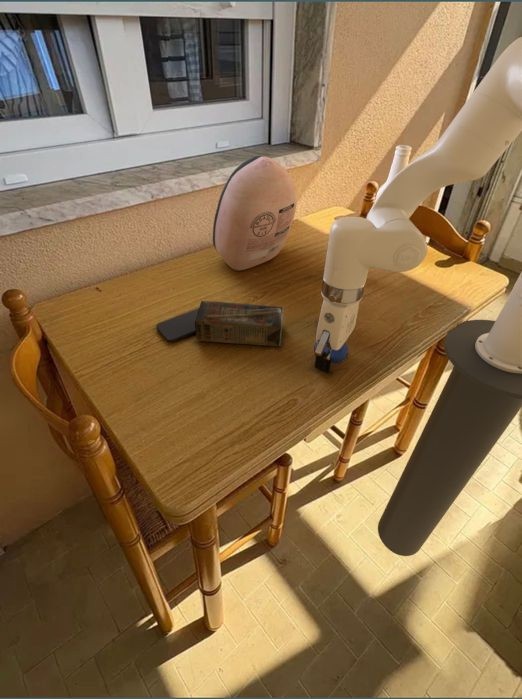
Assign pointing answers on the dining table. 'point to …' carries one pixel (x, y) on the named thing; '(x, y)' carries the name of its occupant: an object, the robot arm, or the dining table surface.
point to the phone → (178, 326)
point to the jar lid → (336, 353)
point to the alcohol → (397, 165)
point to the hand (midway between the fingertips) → (329, 358)
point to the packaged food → (254, 213)
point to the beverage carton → (239, 323)
